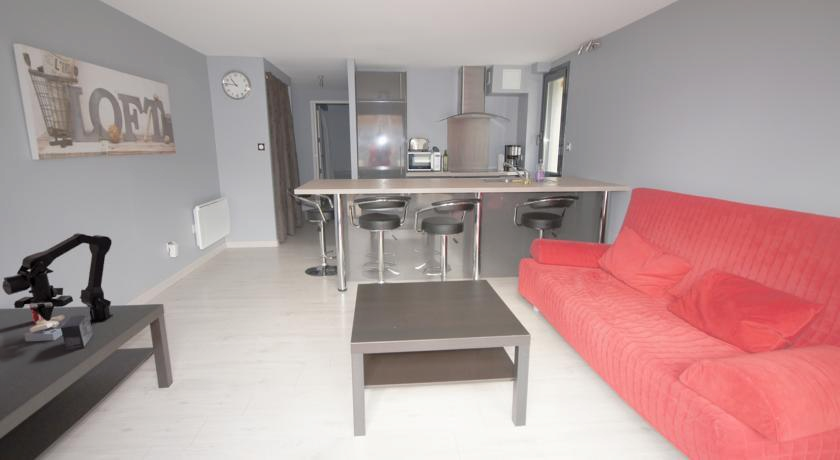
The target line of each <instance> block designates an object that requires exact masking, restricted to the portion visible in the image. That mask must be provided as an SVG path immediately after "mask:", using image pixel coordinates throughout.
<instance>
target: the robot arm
mask: <svg viewBox="0 0 840 460" xmlns="http://www.w3.org/2000/svg"><path fill="white" fill-rule="evenodd" d="M83 244H86V245H87V244H88V248H89V252H90V254H91V259H90V266H89V272H88V281H87V286H86V288H85V289H81V290H80V297H79V299H81V303H82V304H83V305H86V307H88V308H89V311H88V312H89V317H90V323H91V322H92V323H93V322H94V323H95V322H105V321H107V320H108V319H110V318H111V317H112V316H113V315H114V314H112V313H111V311H110V306H111V304H112V302H111V300H108V299H106V298H105V293H104V290H103V288H102V283H103V274H104V266H105V260H106V255H107V254H108V253H109V252H110V249H111V247H112V239H111V238H110V237H108V236H105V235H99V234H96V235H87V234H84V233H79V232H78V233H74V234H73V235H72V236H70V237H68V238H66V239H65V240H63V241H60V242H59V243H57V244H55V245H53V246H52V247H50V248H48V249H46V250H44V251H39V252H35V253H32V254H30V255H27V256H25V257H24V258H23V259H22V262H21V266H20V268H19V269H18V270H17V273H16V274H15V275H11V276H6V277H4V278H3V282H2V289H3V291H4V293H5V294H6V295H8V296H9V295H13V294H17V293H21V292H24V291H27V290H28V294H32V296H33V297H31V296H24V297H20V299H19V298H18V299H16V300H15V302H14V303H13V307H14V309H22V308H24V307H25V306H26V305H29V304H30V305H31V307H32V308H30V307H29V309H30V311H31V310H34V311H35V312H36V313H38V314H39V315H40V316H41V317H42V318H44V319H45V320H46V321H49V320H50V319H51V318H52V316H53V315H52V314H53V311H54V308H61V307H62V308H63V307H65V306H67V305H68V304H69V305H70V303H72V302H74V298H73V296H72V295H64V288H63V287H54V285H53V284H52V285H50V280H49V276H48V274H51V273H54V270H53V269H50V268H48V267H49V266H51V264H52V263H53V261H55V260H56V259H57V258H59V257H60V256H62V255H64V254H66V253H68V252H69V251H72V250H73V249H75V248H77V247H79V246H80V245H83ZM29 289H30V290H29ZM30 305H29V306H30Z"/></svg>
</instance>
